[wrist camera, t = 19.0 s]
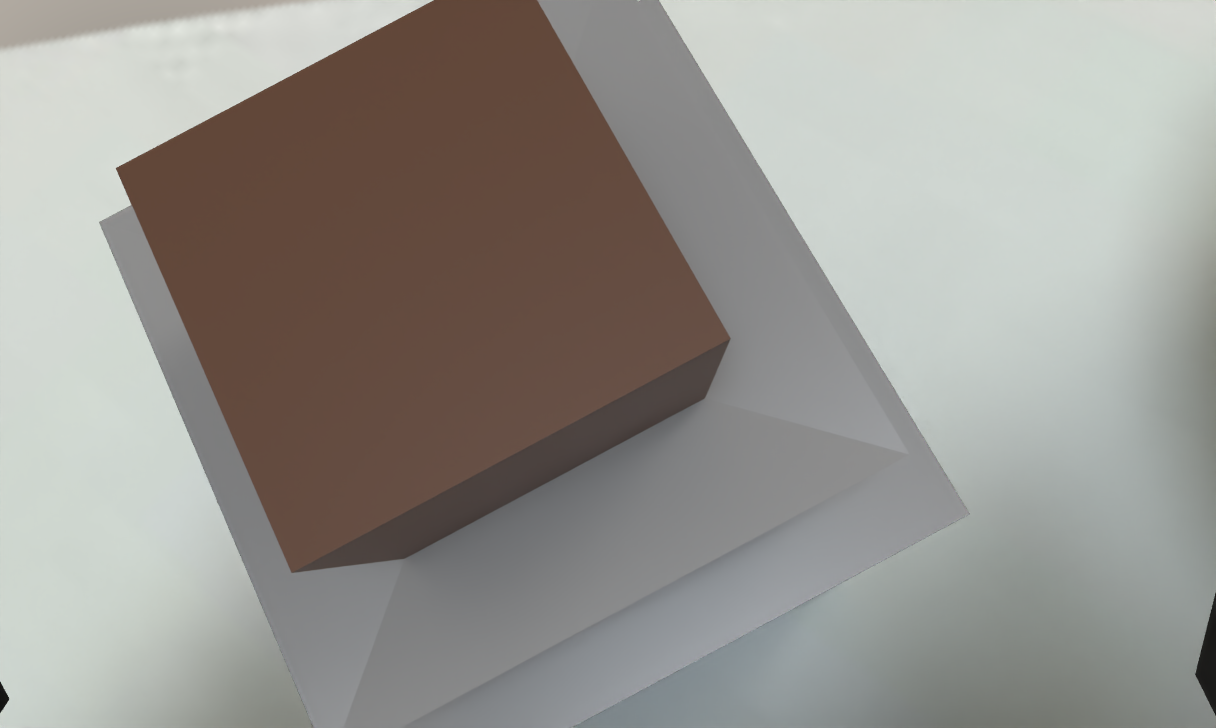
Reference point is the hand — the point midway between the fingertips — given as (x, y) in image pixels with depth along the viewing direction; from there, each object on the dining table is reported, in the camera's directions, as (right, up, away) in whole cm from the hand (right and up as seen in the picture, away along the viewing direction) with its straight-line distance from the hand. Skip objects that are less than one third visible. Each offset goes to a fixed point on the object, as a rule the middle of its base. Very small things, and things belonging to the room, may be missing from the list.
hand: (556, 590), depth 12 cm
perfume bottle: (+1, -1, +14) cm, 14 cm away
